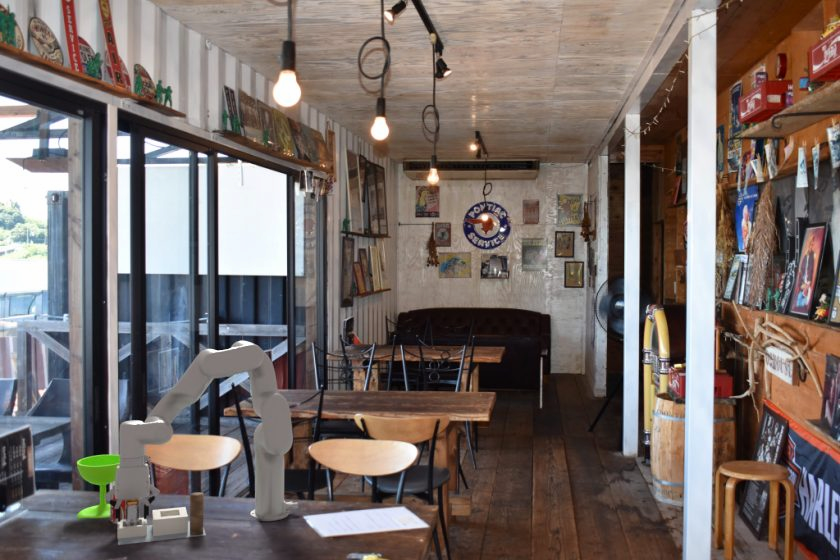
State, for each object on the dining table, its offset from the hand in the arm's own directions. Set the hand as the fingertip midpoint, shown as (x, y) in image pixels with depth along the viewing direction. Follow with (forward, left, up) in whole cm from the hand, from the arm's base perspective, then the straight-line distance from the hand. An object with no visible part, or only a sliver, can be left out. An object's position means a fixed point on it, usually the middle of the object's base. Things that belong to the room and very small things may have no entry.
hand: (132, 518), depth 237 cm
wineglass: (+9, -26, -6) cm, 28 cm away
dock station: (-8, +2, -5) cm, 10 cm away
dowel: (-19, +7, -4) cm, 20 cm away
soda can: (+3, -14, -6) cm, 15 cm away
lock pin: (0, 0, -4) cm, 4 cm away
